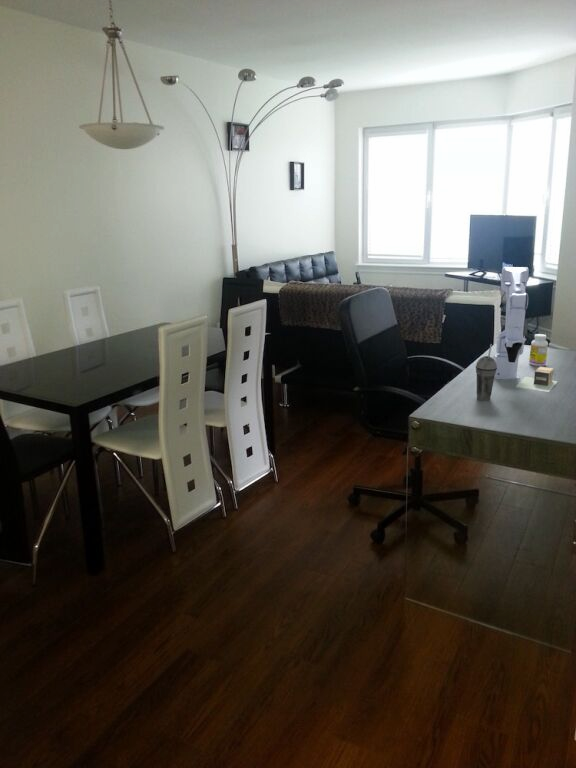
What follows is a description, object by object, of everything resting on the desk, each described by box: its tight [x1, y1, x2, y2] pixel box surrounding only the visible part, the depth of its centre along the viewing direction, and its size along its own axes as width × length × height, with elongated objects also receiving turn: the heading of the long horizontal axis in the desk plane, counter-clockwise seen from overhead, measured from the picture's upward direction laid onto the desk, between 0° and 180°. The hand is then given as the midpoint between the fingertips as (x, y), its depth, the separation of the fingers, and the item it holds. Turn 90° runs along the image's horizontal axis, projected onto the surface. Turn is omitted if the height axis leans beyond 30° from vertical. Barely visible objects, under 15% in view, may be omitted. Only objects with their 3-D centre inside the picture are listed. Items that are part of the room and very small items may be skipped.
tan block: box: [533, 366, 554, 386], centre depth 235 cm, size 5×5×8 cm
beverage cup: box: [475, 343, 497, 402], centre depth 216 cm, size 7×7×20 cm
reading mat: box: [515, 376, 558, 393], centre depth 234 cm, size 16×12×1 cm
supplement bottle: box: [528, 333, 549, 367], centre depth 260 cm, size 7×7×13 cm
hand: (511, 361), depth 229 cm, fingers closed
